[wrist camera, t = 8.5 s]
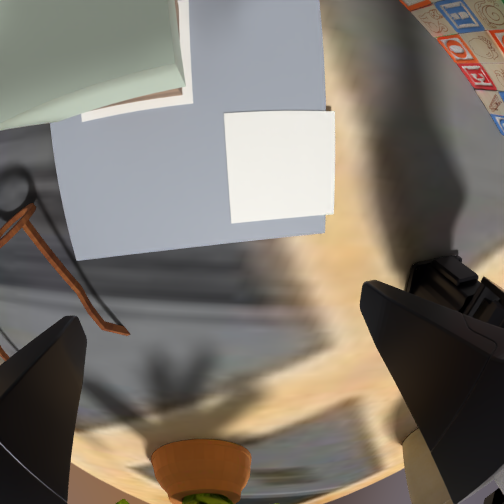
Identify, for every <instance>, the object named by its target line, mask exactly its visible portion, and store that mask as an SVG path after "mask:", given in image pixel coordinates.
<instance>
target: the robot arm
mask: <svg viewBox="0 0 504 504" xmlns="http://www.w3.org/2000/svg"><path fill="white" fill-rule="evenodd" d="M360 310H361V312H362V315H363V317H364V319H365V322H366V324H367V326H368V329H369V331H370V334H371V336H372V338H373V341H374V343H375V345H376V347H377V349H378V351H379V353H380V355H381V357H382V359H383V360H384V362H385V364H386V366H387V368H388V370H389V372H390V373H391V375H392V377H393V379H394V381H395V383H396V385H397V387H398V388H399V390H400V392H401V394H402V396H403V398H404V400H405V402H406V404H407V406H408V408H409V410H410V412H411V414H412V416H413V418H414V420H415V422H416V424H417V426H418V428H419V430H420V432H421V434H422V436H423V438H424V440H425V442H426V444H427V446H428V448H429V450H430V452H431V455H432V457H433V459H434V462H435V464H436V466H437V468H438V470H439V472H440V475H441V477H442V479H443V481H444V484H445V486H446V488H447V490H448V493H449V495H450V497H451V500H452V502H453V504H459V503H460V502H462V501H463V500H465V499H467V498H468V497H469V496H471V495H473V494H474V493H475V492H477V491H478V490H480V489H481V488H483V487H484V486H485V485H487V484H488V483H490V482H491V481H492V480H495V482H496V483H497V485H498V487H499V488H498V489H497V490H496V491H494V492H493V493H492V494H491V495H489V496H488V497H487V498H485V500H484V504H504V290H503V289H502V288H501V287H499V286H498V285H496V284H495V283H493V282H492V281H490V280H489V279H487V278H486V277H484V276H483V278H482V280H481V283H480V282H479V281H478V275H477V274H476V273H475V272H473V271H472V270H471V269H469V268H468V267H467V266H465V265H464V264H462V258H461V257H459V256H447V257H441V258H436V259H433V260H430V261H424V262H419V263H415V264H414V265H413V266H412V268H411V272H410V277H409V282H408V287H407V291H403V290H401V289H398V288H395V287H393V286H390V285H388V284H385V283H382V282H380V281H377V280H371V281H366V282H364V283H363V286H362V292H361V299H360ZM86 347H87V339H86V335H85V333H84V330H83V328H82V325H81V323H80V320H79V318H78V317H77V316H65V317H63V318H62V319H60V320H59V321H58V322H56V323H55V324H54V325H52V326H51V327H50V328H48V329H47V330H46V331H44V332H43V333H42V334H40V335H39V336H38V337H36V338H35V339H34V340H32V341H31V342H30V343H28V344H27V345H26V346H24V347H23V348H22V349H21V350H19V351H18V352H17V353H15V354H14V355H13V356H12V357H10V358H9V359H8V360H6V361H5V362H4V363H3V364H1V365H0V504H67V499H68V484H69V483H68V482H69V472H70V462H71V453H72V445H73V437H74V430H75V423H76V417H77V411H78V405H79V400H80V394H81V389H82V383H83V374H84V364H85V355H86Z"/></svg>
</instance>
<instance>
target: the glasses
mask: <svg viewBox="0 0 504 504" xmlns="http://www.w3.org/2000/svg"><path fill="white" fill-rule="evenodd" d="M35 209H36V206H35V205H34V203H30V204H29V205H27V206H26V207H24V208H23V209H22V210H20V211H19V212H18V213H17V214H15V215H14V216H13V217H12V218H11V219H10V220H9V221H8V222H7V223H6V224H5V225H4V226H3V227H2V228H1V229H0V237H1V236H2V235H3V234H4V232H5V231H6V230H7V229H8V228H9V227H10V226H11V225H12V224H13V223H14V222H16V221H17V220H18V219H19V218H20V217H22V216H23V217H22V218H21V219H20V220H19V221H18V222H17V223H16V225H15V226H14V227H13V228H12V229H11V230H10V231H9V232H8V233H7V234H6V235H4V236H3V237H2V238H1V239H0V248H1V247H2V246H3V245H5V244H6V243H7V242H8V241H9V240H10V239H11V238H12V237H13V236H14V235H15V234H16V233H17V232H18V231H19V230H20V229H21V228H23V229H24V230H25V232H26V233H27V234H28V236H29V237H30V238H31V240H32V241H33V242H34V244H35V245H36V246H37V247H38V249H39V250H40V251H41V252H42V254H43V255H44V256H45V257H46V259H47V260H48V261H49V262H50V264H51V265H52V266H53V267H54V268H55V270H56V271H57V272H58V273H59V274H60V275H61V277H62V278H63V279H64V280H65V281H66V282H67V283H68V285H69V286H70V287H71V288H72V289H73V290H74V291H75V292H76V294H77V295H78V297H79V299H80V301H81V302H82V304H83V306H84V307H85V309H86V311H87V312H88V314H89V315H90V316H91V318H92V319H93V320H94V321H95V322H96V324H97V325H98V326H99V327H100V328H101V329H102V330H104V331H109V332H113V333H117V334H122V335H126V336H128V335H130V333H129V332H128V331H127V329H126V328H125V327H124V326H120V325H116V324H113V323H109V322H105V321H104V320H103V319H102V318H101V316H100V315H99V314H98V312H97V311H96V310H95V308H94V307H93V306H92V304H91V302H90V301H89V299H88V297H87V295H86V294H85V292H84V290H83V288H82V286H81V285H80V284H79V283H78V282H77V281H76V279H75V278H74V277H73V276H72V275H71V274H70V272H69V271H68V270H67V269H66V268H65V266H64V265H63V264H62V263H61V261H60V260H59V259H58V258H57V257H56V255H55V254H54V253H53V252H52V250H51V249H50V248H49V246H48V245H47V244H46V243H45V241H44V240H43V239H42V237H41V236H40V235H39V233H38V232H37V231H36V229H35V228H34V227H33V225H32V224H31V222H30V221H29V218H30V217H31V216H32V214H33V213H34V211H35ZM0 356H1V357H2V358H3V359H4V360H5V361H6V360H8V359H9V358H10V357H9V356H8V355H7V354H6V353H5V352H4V350H3V349H2V348H1V346H0Z"/></svg>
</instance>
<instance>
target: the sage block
mask: <svg viewBox="0 0 504 504" xmlns="http://www.w3.org/2000/svg"><path fill="white" fill-rule="evenodd" d="M181 87H186V83H185V76H184V69H183V62H182V55H181V48H180V40H179V32H178V24H177V16H176V8H175V0H0V131H1V130H6V129H12V128H18V127H24V126H31V125H38V124H45V123H53V122H59V121H62V120H64V119H67V118H70V117H73V116H76V115H79V114H82V113H85V112H88V111H91V110H94V109H97V108H100V107H104V106H107V105H110V104H114V103H117V102H121V101H125V100H128V99H132V98H136V97H140V96H144V95H148V94H153V93H157V92H162V91H166V90H171V89H176V88H181Z"/></svg>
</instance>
